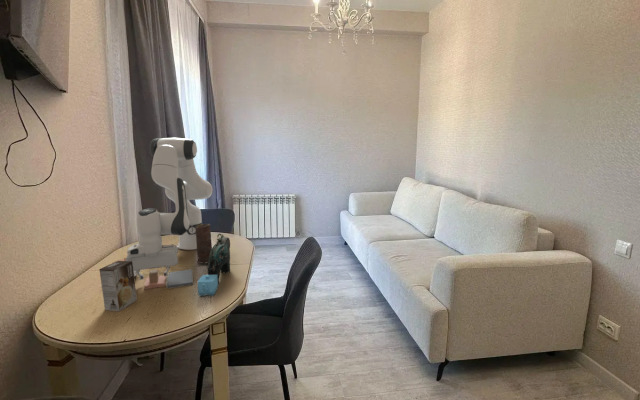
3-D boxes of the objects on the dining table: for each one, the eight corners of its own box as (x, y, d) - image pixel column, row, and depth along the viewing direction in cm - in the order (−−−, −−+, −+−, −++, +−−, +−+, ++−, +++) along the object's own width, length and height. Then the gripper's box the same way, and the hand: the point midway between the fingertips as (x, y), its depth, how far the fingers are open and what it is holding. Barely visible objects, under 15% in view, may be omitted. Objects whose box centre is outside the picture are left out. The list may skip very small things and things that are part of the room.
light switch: (146, 280, 147) (145, 269, 146) (166, 277, 150) (165, 266, 149) (144, 289, 138) (142, 277, 137) (165, 285, 141) (164, 274, 140)
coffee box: (123, 298, 130) (118, 259, 127) (137, 300, 128) (133, 260, 126) (104, 310, 121) (98, 268, 118) (119, 311, 120) (114, 269, 117)
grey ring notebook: (167, 275, 153) (167, 272, 153) (192, 271, 157) (192, 269, 157) (165, 288, 138) (165, 286, 138) (192, 284, 142) (192, 282, 142)
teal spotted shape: (222, 269, 160) (219, 229, 156) (235, 269, 159) (233, 229, 156) (205, 286, 140) (202, 241, 137) (220, 287, 140) (217, 241, 136)
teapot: (212, 300, 128) (210, 282, 126) (196, 301, 127) (194, 283, 126) (219, 287, 139) (218, 270, 138) (204, 288, 139) (203, 271, 138)
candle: (208, 265, 164) (205, 226, 161) (194, 265, 165) (191, 226, 162) (215, 260, 171) (213, 223, 168) (202, 259, 173) (200, 222, 169)
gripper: (177, 241, 148) (180, 271, 150) (125, 247, 140) (128, 278, 142) (177, 245, 142) (179, 276, 144) (122, 252, 134) (126, 284, 137)
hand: (153, 277), depth 143 cm, fingers open, 8 cm apart
